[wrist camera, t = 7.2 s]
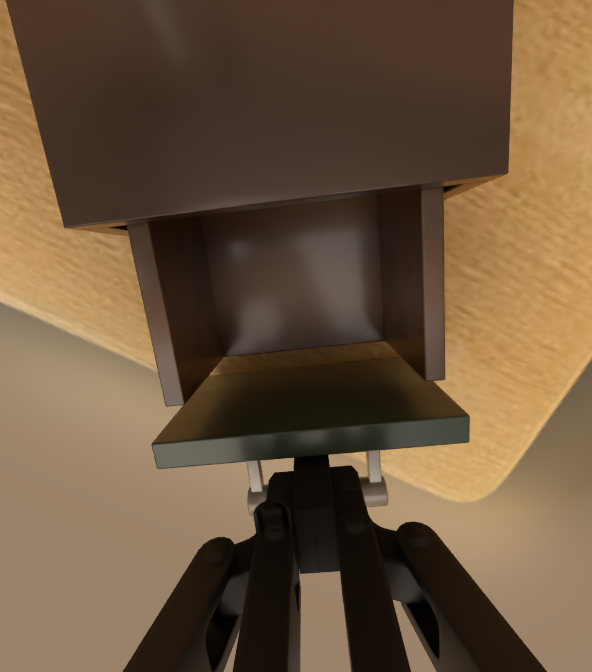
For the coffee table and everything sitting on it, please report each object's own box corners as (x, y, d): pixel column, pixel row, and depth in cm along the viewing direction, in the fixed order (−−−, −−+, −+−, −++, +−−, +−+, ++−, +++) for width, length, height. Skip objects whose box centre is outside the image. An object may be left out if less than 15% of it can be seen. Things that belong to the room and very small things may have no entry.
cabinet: (407, 215, 19) (509, 173, 10) (178, 242, 20) (63, 228, 10) (396, -130, 16) (537, -723, 6) (118, -84, 16) (-138, -554, 7)
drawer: (410, 444, 22) (469, 546, 14) (222, 460, 22) (179, 567, 15) (398, 112, 17) (474, -5, 10) (164, 143, 18) (59, 56, 10)
